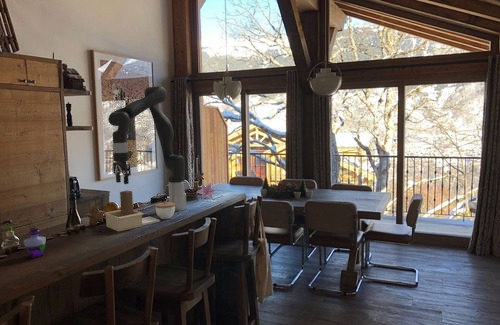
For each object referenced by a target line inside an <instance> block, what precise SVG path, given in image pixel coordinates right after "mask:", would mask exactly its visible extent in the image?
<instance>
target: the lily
mask: <svg viewBox="0 0 500 325" xmlns="http://www.w3.org/2000/svg"><path fill="white" fill-rule="evenodd" d="M200 186H201V189H198V190H197V191H196V194H200V195H202V196H201V199H202V200H204V199H206V198H209V199H210V200H213V193H215V192H216V190H215V189H212V183H211V182H210V183H208V184H207V185H206V186H205V185H203V184H200Z"/></svg>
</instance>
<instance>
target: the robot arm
mask: <svg viewBox="0 0 500 325" xmlns="http://www.w3.org/2000/svg"><path fill="white" fill-rule="evenodd" d="M167 96H168V95H167V90H166V88H164V87H163V86H149V87H146V88H145V89H144V96H143V97H141V98H140V99H137V100H134V101H132V102H131V103H128V104H127V105H126V106H123V107H122V108H118V109H116V110H114V111H112V112H111V113H110V114H109V115H108V118H107V119H108V123H109V124H110V126H113V127H117V130H115V131H113V133H112V160H113V162H112V172H113V174H114V175H115V183H121V180H122V179H121V174H122V175H123V184H124V185H129V177H130V176H131V175H132V174H131V173H132V172H131V164H130V163H127V162H128V161H129V159H130V156H129V144H128V132H129V128H130V122H131V119H135V118H136V117H137V116H139V115H141V113H144V112H145V111H146V110H149V111H150V114H151V117H152V120H153V123H154V127H155V130H156V133H157V136H158V140H159V143H160V144H159V145H160V146H161V151H162V152H161V153H162V155H163V162H164V165H165V167H166V170H168V171H173V175H170V176H168V198H169V200H168V202H172V203H175V211H174V212H179V211H184V210H186V209H187V193H186V192H185V177H186V161H185V157H184V156H183V155H180V154H179V155H178V154H174V152H173V149H172V148H173V147H172V143H173V140H174V136H175V135H174V134H175V133H174V128H173V124H172V123H171V121H170V119H169V118H168V117H167V116H166V115H165V113H164V112H163V111H162V110H161V107H160V105H159V104H161V103H163V102H165V101H166V99H167Z"/></svg>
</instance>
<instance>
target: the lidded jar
mask: <svg viewBox="0 0 500 325" xmlns="http://www.w3.org/2000/svg"><path fill="white" fill-rule="evenodd" d="M154 206H155V213H156V215H157V217H158V218H159V219H160V220H169V219H171V218H172V217H173V216H174V214H175V212H176V211H175V203H172V202H169V201H166V200H164V201H163V202H158V203H156V204H155V205H154Z"/></svg>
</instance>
